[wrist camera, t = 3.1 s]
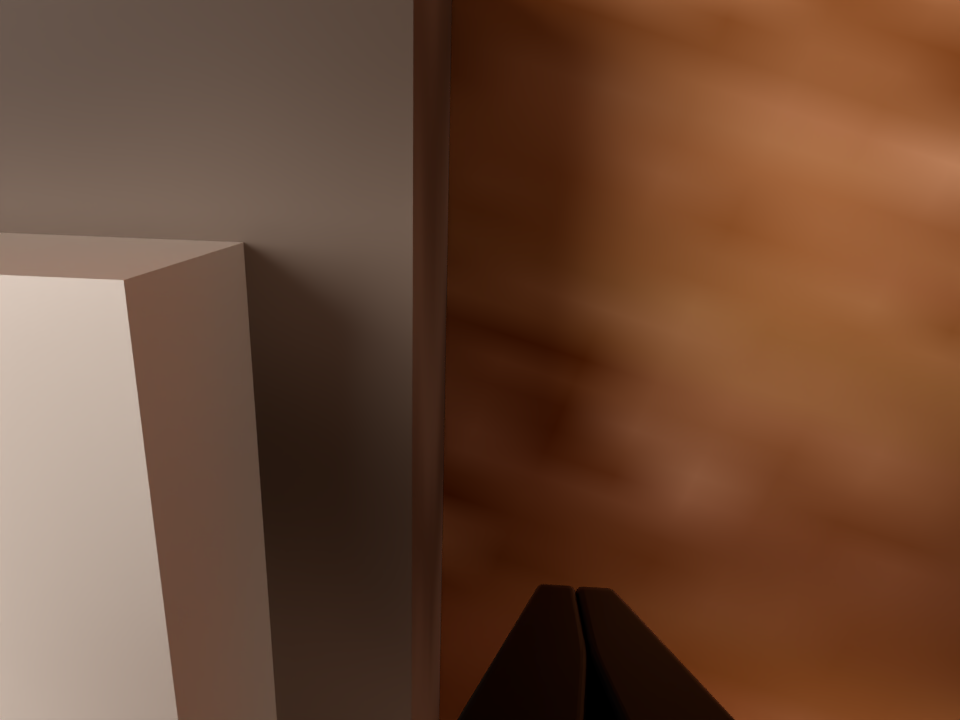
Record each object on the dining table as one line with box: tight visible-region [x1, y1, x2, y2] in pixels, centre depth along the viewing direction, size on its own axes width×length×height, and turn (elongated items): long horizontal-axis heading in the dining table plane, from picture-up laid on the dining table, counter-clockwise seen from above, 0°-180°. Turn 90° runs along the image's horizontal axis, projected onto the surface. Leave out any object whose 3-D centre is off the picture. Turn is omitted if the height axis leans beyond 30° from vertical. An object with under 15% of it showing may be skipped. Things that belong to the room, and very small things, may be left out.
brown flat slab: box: [0, 0, 452, 720], centre depth 11 cm, size 16×14×4 cm
